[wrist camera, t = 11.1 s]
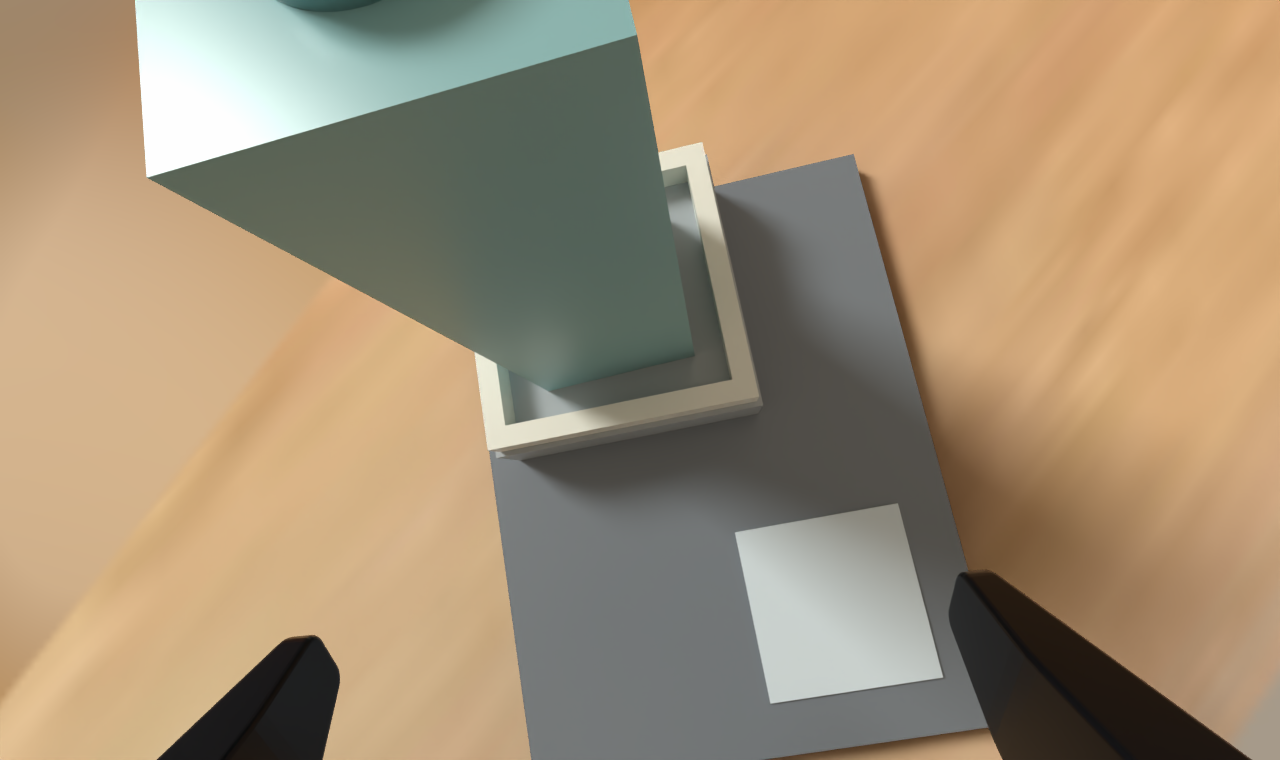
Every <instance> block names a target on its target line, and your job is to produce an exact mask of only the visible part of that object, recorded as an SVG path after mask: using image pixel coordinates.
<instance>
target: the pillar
mask: <svg viewBox="0 0 1280 760" xmlns="http://www.w3.org/2000/svg"><path fill="white" fill-rule="evenodd" d="M135 6H136V22H137V37H138V50H139V51H138V52H139V67H140V81H141V97H142V112H143V127H144V143H145V158H146V171H147V172H146V173H147V178H149V179H151V180H152V181H154V182H156V183H158V184H160V185H162V186H164V187H166V188H168V189H169V190H171V191H173V192H175V193H177V194H179V195H181V196H183V197H184V198H186V199H188V200H190V201H192V202H194V203H196V204H198V205H199V206H201V207H203V208H205V209H207V210H209V211H211V212H213V213H214V214H216V215H218V216H220V217H222V218H224V219H226V220H228V221H229V222H231V223H233V224H235V225H237V226H239V227H241V228H243V229H245V230H246V231H248V232H250V233H252V234H254V235H256V236H258V237H260V238H261V239H264V240H265V241H267V242H269V243H271V244H273V245H275V246H277V247H278V248H280V249H282V250H284V251H286V252H288V253H290V254H291V255H293V256H295V257H297V258H299V259H301V260H303V261H305V262H307V263H308V264H310V265H312V266H314V267H316V268H318V269H320V270H322V271H323V272H325V273H327V274H329V275H331V276H333V277H335V278H337V279H338V280H340V281H342V282H344V283H346V284H348V285H350V286H352V287H354V288H355V289H357V290H359V291H361V292H363V293H365V294H367V295H369V296H370V297H372V298H374V299H376V300H378V301H380V302H382V303H384V304H385V305H387V306H389V307H391V308H393V309H395V310H397V311H399V312H400V313H402V314H404V315H406V316H408V317H410V318H412V319H414V320H416V321H417V322H419V323H421V324H423V325H425V326H427V327H429V328H431V329H432V330H434V331H436V332H438V333H440V334H442V335H444V336H446V337H447V338H449V339H451V340H453V341H455V342H457V343H459V344H461V345H463V346H464V347H466V348H468V349H470V350H472V351H474V352H476V353H478V354H479V355H481V356H483V357H485V358H487V359H489V360H491V361H493V362H494V363H496V364H498V365H500V366H502V367H504V368H506V369H508V370H509V371H511V372H513V373H515V374H517V375H519V376H521V377H523V378H525V379H526V380H528V381H530V382H532V383H534V384H536V385H538V386H540V387H541V388H543V389H545V390H547V391H552V390H556V389H560V388H564V387H568V386H572V385H576V384H581V383H585V382H589V381H593V380H597V379H601V378H605V377H610V376H614V375H618V374H622V373H626V372H630V371H634V370H638V369H643V368H647V367H651V366H655V365H659V364H663V363H667V362H672V361H676V360H680V359H684V358H688V357H692V356H695V354H694V348H693V342H692V337H691V331H690V326H689V320H688V315H687V309H686V304H685V298H684V293H683V287H682V281H681V276H680V270H679V265H678V259H677V254H676V248H675V243H674V237H673V232H672V226H671V221H670V215H669V209H668V204H667V198H666V193H665V187H664V182H663V176H662V171H661V165H660V160H659V154H658V148H657V143H656V137H655V132H654V126H653V121H652V115H651V110H650V104H649V99H648V93H647V88H646V82H645V76H644V71H643V65H642V60H641V54H640V49H639V43H638V38H637V33H636V29H635V25H634V21H633V17H632V13H631V9H630V5H629V1H628V0H135Z"/></svg>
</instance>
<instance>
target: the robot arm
mask: <svg viewBox="0 0 1280 760" xmlns="http://www.w3.org/2000/svg"><path fill="white" fill-rule="evenodd" d="M948 618H949V624H950V627H951V630H952V633H953V635H954V638H955V641H956V643H957V646H958V649H959V651H960V654H961V657H962V659H963V662H964V665H965V667H966V670H967V672H968V675H969V678H970V680H971V683H972V686H973V688H974V691H975V694H976V696H977V699H978V702H979V704H980V707H981V710H982V712H983V715H984V717H985V720H986V723H987V725H988V728H989V730H990V733H991V735H992V738H993V740H994V742H995V744H996V747H997V749H998V751H999V753H1000V755H1001V757H1002V759H1003V760H1252V759H1250V758H1249V757H1247V756H1246V755H1244V754H1243V753H1242V752H1240V751H1239V750H1238V749H1236V748H1235V747H1234V746H1232V745H1231V744H1230V743H1228V742H1227V741H1225V740H1224V739H1223V738H1221V737H1220V736H1219V735H1217V734H1216V733H1214V732H1213V731H1212V730H1210V729H1209V728H1208V727H1206V726H1205V725H1203V724H1202V723H1201V722H1199V721H1198V720H1197V719H1195V718H1194V717H1192V716H1191V715H1190V714H1188V713H1187V712H1186V711H1184V710H1183V709H1181V708H1180V707H1179V706H1177V705H1176V704H1175V703H1173V702H1172V701H1170V700H1169V699H1168V698H1166V697H1165V696H1164V695H1162V694H1161V693H1159V692H1158V691H1157V690H1155V689H1154V688H1153V687H1151V686H1150V685H1148V684H1147V683H1146V682H1144V681H1143V680H1142V679H1140V678H1139V677H1137V676H1136V675H1135V674H1133V673H1132V672H1131V671H1129V670H1128V669H1126V668H1125V667H1124V666H1122V665H1121V664H1120V663H1118V662H1117V661H1115V660H1114V659H1113V658H1111V657H1110V656H1109V655H1107V654H1106V653H1104V652H1103V651H1102V650H1100V649H1099V648H1098V647H1096V646H1095V645H1093V644H1092V643H1091V642H1089V641H1088V640H1087V639H1085V638H1084V637H1082V636H1081V635H1080V634H1078V633H1077V632H1076V631H1074V630H1073V629H1071V628H1070V627H1069V626H1067V625H1066V624H1065V623H1063V622H1062V621H1060V620H1059V619H1058V618H1056V617H1055V616H1054V615H1052V614H1051V613H1049V612H1048V611H1047V610H1045V609H1044V608H1043V607H1041V606H1040V605H1038V604H1037V603H1036V602H1034V601H1033V600H1032V599H1030V598H1029V597H1027V596H1026V595H1025V594H1023V593H1022V592H1021V591H1019V590H1018V589H1016V588H1015V587H1014V586H1012V585H1011V584H1010V583H1008V582H1007V581H1005V580H1004V579H1003V578H1001V577H1000V576H999V575H997V574H996V573H994V572H992V571H989V570H977V571H966V572H961V573H960V574H959V575H958V576H957V577H956V580H955V584H954V588H953V592H952V596H951V600H950V604H949V609H948ZM339 684H340V674H339V669H338V667H337V665H336V663H335V662H334V660H333V658H332V657H331V655H330V653H329V652H328V650H327V648H326V647H325V645H324V643H323V642H322V640H321V639H320V638H319V637H317V636H315V635H307V636H297V637H290V638H287V639H285V640H284V641H282V642H281V643H280V644H279V645H277V646H276V647H275V648H274V649H273V650H272V651H271V652H270V653H269V654H268V655H267V656H266V657H265V658H264V659H263V660H262V661H261V662H259V663H258V664H257V665H256V666H255V667H254V668H253V669H252V670H251V671H250V672H249V673H248V674H247V675H246V676H245V677H244V678H243V679H242V680H240V681H239V682H238V683H237V684H236V685H235V686H234V687H233V688H232V689H231V690H230V691H229V692H228V693H227V694H226V695H225V696H224V697H223V698H221V699H220V700H219V701H218V702H217V703H216V704H215V705H214V706H213V707H212V708H211V709H210V710H209V711H208V712H207V713H206V714H205V715H203V716H202V717H201V718H200V719H199V720H198V721H197V722H196V723H195V724H194V725H193V726H192V727H191V728H190V729H189V730H188V731H187V732H186V733H184V734H183V735H182V736H181V737H180V738H179V739H178V740H177V741H176V742H175V743H174V744H173V745H172V746H171V747H170V748H169V749H168V750H167V751H165V752H164V753H163V754H162V755H161V756H160V757H159V758H158V759H157V760H323V755H324V751H325V747H326V742H327V738H328V733H329V729H330V725H331V720H332V716H333V711H334V707H335V703H336V698H337V694H338V689H339Z"/></svg>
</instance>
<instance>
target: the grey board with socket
mask: <svg viewBox="0 0 1280 760" xmlns="http://www.w3.org/2000/svg"><path fill="white" fill-rule="evenodd" d="M658 154H659V160H660V165H661V171H662V176H663V182H664V187H665V193H666V198H667V204H668V209H669V215H670V221H671V226H672V232H673V237H674V243H675V248H676V254H677V259H678V265H679V270H680V276H681V281H682V287H683V293H684V298H685V304H686V309H687V315H688V320H689V326H690V331H691V337H692V342H693V348H694V354H695V356H692V357H688V358H684V359H680V360H676V361H672V362H667V363H663V364H659V365H655V366H651V367H647V368H643V369H638V370H634V371H630V372H626V373H622V374H618V375H614V376H610V377H605V378H601V379H597V380H593V381H589V382H585V383H581V384H576V385H572V386H568V387H564V388H560V389H556V390H552V391H547V390H545V389H543V388H541V387H540V386H538V385H536V384H534V383H532V382H530V381H528V380H526V379H525V378H523V377H521V376H519V375H517V374H515V373H513V372H511V371H509V370H508V369H506V368H504V367H502V366H500V365H498V364H496V363H494V362H493V361H491V360H489V359H487V358H485V357H483V356H481V355H479V354H478V353H476V352H475V360H476V367H477V374H478V382H479V389H480V396H481V404H482V411H483V418H484V426H485V433H486V441H487V448H488V451H489V452H490V459H491V467H492V474H493V481H494V489H495V496H496V503H497V511H498V518H499V525H500V533H501V540H502V548H503V555H504V562H505V570H506V577H507V584H508V592H509V599H510V606H511V614H512V621H513V628H514V636H515V643H516V650H517V658H518V665H519V672H520V680H521V687H522V694H523V702H524V709H525V716H526V724H527V731H528V738H529V746H530V753H531V760H765V759H772V758H779V757H786V756H792V755H799V754H806V753H813V752H820V751H827V750H834V749H841V748H848V747H855V746H862V745H869V744H876V743H883V742H890V741H897V740H904V739H911V738H918V737H925V736H932V735H939V734H946V733H953V732H960V731H967V730H974V729H981V728H988V725H987V723H986V720H985V717H984V715H983V712H982V710H981V707H980V704H979V702H978V699H977V696H976V694H975V691H974V688H973V686H972V683H971V680H970V678H969V675H968V672H967V670H966V667H965V665H964V662H963V659H962V657H961V654H960V651H959V649H958V646H957V643H956V641H955V638H954V635H953V633H952V630H951V627H950V624H949V618H948V609H949V604H950V600H951V596H952V592H953V588H954V584H955V580H956V577H957V576H958V575H959V574H960V573H961V572H966V571H968V568H967V564H966V561H965V557H964V553H963V550H962V546H961V542H960V539H959V535H958V532H957V528H956V524H955V521H954V517H953V513H952V510H951V506H950V503H949V499H948V495H947V492H946V488H945V484H944V481H943V477H942V474H941V470H940V466H939V463H938V459H937V455H936V452H935V448H934V445H933V441H932V437H931V434H930V430H929V426H928V423H927V419H926V415H925V412H924V408H923V405H922V401H921V397H920V394H919V390H918V386H917V383H916V379H915V376H914V372H913V368H912V365H911V361H910V357H909V354H908V350H907V347H906V343H905V339H904V336H903V332H902V328H901V325H900V321H899V317H898V314H897V310H896V307H895V303H894V299H893V296H892V292H891V288H890V285H889V281H888V278H887V274H886V270H885V267H884V263H883V259H882V256H881V252H880V249H879V245H878V241H877V238H876V234H875V230H874V227H873V223H872V220H871V216H870V212H869V209H868V205H867V201H866V198H865V194H864V190H863V187H862V183H861V180H860V176H859V172H858V169H857V165H856V161H855V158H854V154H852V155H848V156H843V157H839V158H835V159H831V160H826V161H822V162H818V163H813V164H809V165H805V166H801V167H796V168H792V169H788V170H783V171H779V172H775V173H771V174H766V175H762V176H758V177H753V178H749V179H745V180H741V181H736V182H732V183H728V184H723V185H719V186H715V187H714V184H713V180H712V175H711V171H710V166H709V162H708V158H707V154H706V155H705V152H704V148H703V144H702V142H700V143H696V144H692V145H688V146H684V147H680V148H675V149H671V150H667V151H663V152H659V153H658Z"/></svg>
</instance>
